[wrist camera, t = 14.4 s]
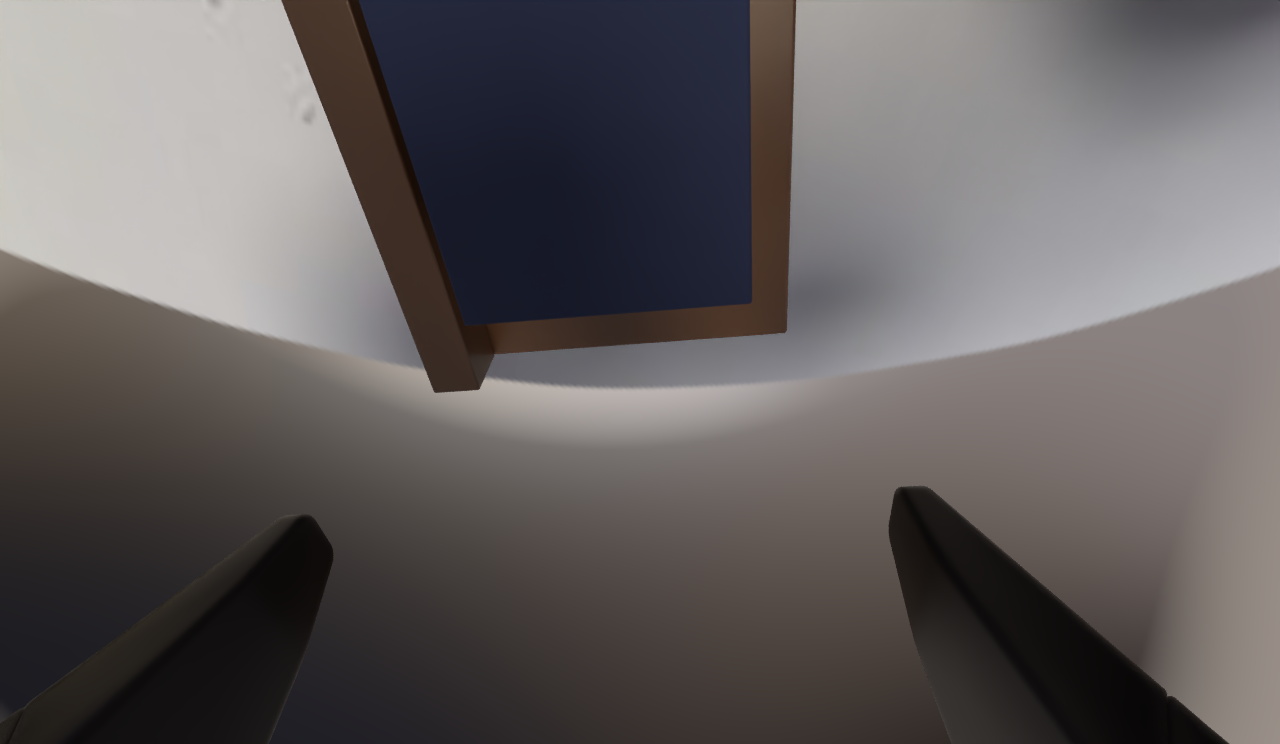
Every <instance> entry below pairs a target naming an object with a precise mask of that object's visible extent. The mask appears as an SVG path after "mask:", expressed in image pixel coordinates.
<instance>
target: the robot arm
mask: <svg viewBox="0 0 1280 744" xmlns="http://www.w3.org/2000/svg"><path fill="white" fill-rule="evenodd" d="M889 538H890V543H891V547H892V551H893V555H894V559H895V564H896V568H897V572H898V576H899V580H900V584H901V588H902V593H903V597H904V601H905V605H906V608H907V613H908V617H909V621H910V625H911V629H912V633H913V637H914V641H915V644H916V647H917V650H918V653H919V656H920V659H921V661H922V664H923V667H924V670H925V673H926V675H927V678H928V680H929V683H930V686H931V689H932V692H933V694H934V697H935V700H936V703H937V705H938V708H939V711H940V714H941V716H942V719H943V721H944V724H945V727H946V730H947V733H948V735H949V738H950V741H951V744H1229V743H1228V742H1226V741H1225V740H1224V739H1223V738H1222V737H1221V736H1219V735H1218V734H1217V733H1216V732H1215V731H1213V730H1212V729H1211V728H1210V727H1208V726H1207V725H1206V724H1205V723H1204V722H1203V721H1201V720H1200V719H1199V718H1198V717H1197V716H1196V715H1194V714H1193V713H1192V712H1191V711H1190V710H1188V709H1187V708H1186V707H1185V706H1184V705H1183V704H1182V703H1180V702H1179V701H1178V700H1177V699H1176V698H1174V697H1172V696H1168V697H1167V693H1166V690H1165V689H1164V688H1163V687H1161V686H1160V685H1159V684H1158V683H1157V682H1156V681H1154V680H1153V679H1152V678H1151V677H1150V676H1149V675H1147V674H1146V673H1145V672H1144V671H1143V670H1142V669H1140V668H1139V667H1138V666H1137V665H1136V664H1135V663H1133V662H1132V661H1131V660H1130V659H1129V658H1128V657H1126V656H1125V655H1124V654H1123V653H1122V652H1120V651H1119V650H1118V649H1117V648H1116V647H1115V646H1114V645H1112V644H1111V643H1110V642H1109V641H1108V640H1106V639H1105V638H1104V637H1103V636H1102V635H1101V634H1099V633H1098V632H1097V631H1096V630H1095V629H1094V628H1093V627H1091V626H1090V625H1089V624H1088V623H1087V622H1085V621H1084V620H1083V619H1082V618H1081V617H1080V616H1079V615H1077V614H1076V613H1075V612H1074V611H1073V610H1071V609H1070V608H1069V607H1068V606H1067V605H1066V604H1065V603H1063V602H1062V601H1061V600H1060V599H1059V598H1058V597H1056V596H1055V595H1054V594H1053V593H1052V592H1051V591H1049V590H1048V589H1047V588H1046V587H1045V586H1044V585H1042V584H1041V583H1040V582H1039V581H1038V580H1037V579H1035V578H1034V577H1033V576H1032V575H1031V574H1030V573H1028V572H1027V571H1026V570H1025V569H1024V568H1022V567H1021V566H1020V565H1019V564H1018V563H1017V562H1016V561H1014V560H1013V559H1012V558H1011V557H1010V556H1008V555H1007V554H1006V553H1005V552H1004V551H1003V550H1002V549H1000V548H999V547H998V546H997V545H995V543H993V542H992V541H991V540H990V539H989V538H987V537H986V536H985V535H984V534H983V533H982V532H981V531H979V530H978V529H977V528H976V527H975V526H973V525H972V524H971V523H970V522H969V521H968V520H966V519H965V518H964V517H963V516H962V515H961V514H959V513H958V512H957V511H956V510H955V509H954V508H952V507H951V506H950V505H949V504H948V503H947V502H945V501H944V500H943V499H942V498H941V497H940V496H938V495H937V494H936V493H935V492H934V491H933V490H931V489H930V488H928V487H926V486H907V487H899V488H898V489H896V491H895V494H894V499H893V504H892V510H891V516H890V521H889ZM332 562H333V549H332V546H331V544H330V542H329V541H328V539H327V538H326V536H325V534H324V533H323V531H322V530H321V528H320V527H319V525H318V523H317V522H316V520H315V519H314V518H313V517H312V516H310V515H306V514H304V515H303V514H302V515H287V516H283V517H281V518H279V519H278V520H276V521H275V522H274V523H272V524H271V525H270V526H268V527H267V528H265V529H264V530H263V531H261V532H260V533H259V534H257V535H256V536H255V537H253V538H252V539H251V540H249V541H248V542H246V543H245V544H244V545H243V546H241V547H240V548H238V549H237V550H236V551H235V552H233V553H231V554H230V555H229V556H227V557H226V558H225V559H223V560H222V561H221V562H219V563H218V564H216V565H215V566H214V567H212V568H211V569H210V570H208V571H207V572H206V573H204V574H203V575H201V576H200V577H199V578H198V579H196V580H195V581H193V582H192V583H191V584H189V585H188V586H187V587H185V588H184V589H182V590H181V591H180V592H178V593H177V594H176V595H174V596H173V597H172V598H170V599H169V600H168V601H166V602H165V603H163V604H162V605H161V606H160V607H158V608H157V609H155V610H154V611H153V612H151V613H150V614H148V615H147V616H146V617H145V618H143V619H142V620H140V621H139V622H138V623H136V624H135V625H134V626H132V627H131V628H129V629H128V630H127V631H125V632H124V633H123V634H121V635H120V636H119V637H117V638H116V639H115V640H113V641H112V642H110V643H109V644H108V645H106V646H105V647H104V648H102V649H101V650H99V651H98V652H97V653H95V654H94V655H93V656H91V657H90V658H89V659H87V660H86V661H85V662H83V663H82V664H80V665H79V666H78V667H76V668H75V669H74V670H72V671H71V672H70V673H68V674H67V675H66V676H64V677H63V678H62V679H60V680H59V681H57V682H56V683H55V684H53V685H52V686H51V687H49V688H48V689H46V690H45V691H44V692H42V693H41V694H40V695H38V696H37V697H36V698H34V699H33V700H32V701H30V702H29V703H28V704H27V705H26V707H25V708H21V709H19V710H18V711H16V712H15V713H14V714H13V715H11V716H10V717H8V718H7V719H6V720H4V721H3V722H1V723H0V744H269V741H270V739H271V736H272V734H273V731H274V729H275V727H276V724H277V721H278V719H279V717H280V714H281V712H282V709H283V707H284V704H285V702H286V699H287V697H288V695H289V692H290V690H291V687H292V685H293V682H294V680H295V678H296V675H297V673H298V670H299V667H300V665H301V662H302V660H303V657H304V655H305V651H306V648H307V645H308V642H309V639H310V636H311V633H312V630H313V626H314V623H315V619H316V616H317V613H318V610H319V606H320V603H321V599H322V596H323V593H324V589H325V586H326V582H327V579H328V576H329V573H330V569H331V566H332Z"/></svg>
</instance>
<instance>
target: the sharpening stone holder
mask: <svg viewBox="0 0 1280 744" xmlns="http://www.w3.org/2000/svg"><path fill="white" fill-rule="evenodd" d="M282 3H283V6H284V8H285V11H286V13H287V16H288V18H289V21H290V24H291V26H292V29H293V31H294V34H295V36H296V39H297V42H298V44H299V47H300V49H301V52H302V54H303V57H304V59H305V62H306V65H307V67H308V70H309V72H310V75H311V77H312V80H313V83H314V85H315V88H316V90H317V93H318V95H319V98H320V101H321V103H322V106H323V108H324V111H325V113H326V116H327V118H328V121H329V124H330V126H331V129H332V131H333V134H334V136H335V139H336V142H337V144H338V147H339V149H340V152H341V154H342V157H343V160H344V162H345V165H346V167H347V170H348V172H349V175H350V177H351V180H352V183H353V185H354V188H355V190H356V193H357V195H358V198H359V201H360V203H361V206H362V208H363V211H364V213H365V216H366V218H367V221H368V224H369V226H370V229H371V231H372V234H373V236H374V239H375V242H376V244H377V247H378V249H379V252H380V254H381V257H382V260H383V262H384V265H385V267H386V270H387V272H388V275H389V277H390V280H391V283H392V285H393V288H394V290H395V293H396V295H397V298H398V301H399V303H400V306H401V308H402V311H403V313H404V316H405V319H406V321H407V324H408V326H409V329H410V331H411V334H412V336H413V339H414V342H415V344H416V347H417V349H418V352H419V354H420V357H421V360H422V362H423V365H424V367H425V370H426V372H427V375H428V378H429V380H430V382H431V385H432V388H433V390H434V392H435V393H439V392H454V391H469V390H479V389H480V387H481V384H482V382H483V380H484V378H485V376H486V373H487V371H488V369H489V367H490V364H491V362H492V360H493V358H494V354H505V353H519V352H532V351H546V350H559V349H573V348H587V347H600V346H614V345H627V344H641V343H655V342H668V341H682V340H695V339H709V338H723V337H736V336H750V335H763V334H777V333H785V332H786V331H787V309H788V273H789V237H790V202H791V166H792V130H793V94H794V59H795V23H796V0H750V85H751V202H752V302H751V303H750V304H741V305H728V306H715V307H702V308H689V309H677V310H664V311H651V312H638V313H625V314H612V315H600V316H587V317H574V318H561V319H548V320H535V321H523V322H510V323H497V324H484V325H471V326H466V325H465V324H464V322H463V319H462V316H461V313H460V309H459V306H458V303H457V300H456V297H455V294H454V291H453V288H452V285H451V282H450V279H449V276H448V273H447V270H446V267H445V263H444V260H443V257H442V254H441V251H440V248H439V245H438V242H437V239H436V236H435V233H434V230H433V227H432V224H431V221H430V217H429V214H428V211H427V208H426V205H425V202H424V199H423V196H422V193H421V190H420V187H419V184H418V181H417V178H416V175H415V171H414V168H413V165H412V162H411V159H410V156H409V153H408V150H407V147H406V144H405V141H404V138H403V135H402V132H401V129H400V125H399V122H398V119H397V116H396V113H395V110H394V107H393V104H392V101H391V98H390V95H389V92H388V89H387V86H386V83H385V79H384V76H383V73H382V70H381V67H380V64H379V61H378V58H377V55H376V52H375V49H374V46H373V43H372V40H371V37H370V33H369V30H368V27H367V24H366V21H365V18H364V15H363V12H362V9H361V6H360V3H359V0H282Z"/></svg>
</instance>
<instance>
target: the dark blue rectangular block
mask: <svg viewBox="0 0 1280 744" xmlns="http://www.w3.org/2000/svg"><path fill="white" fill-rule="evenodd" d="M359 3H360V6H361V9H362V12H363V15H364V18H365V21H366V24H367V27H368V30H369V33H370V37H371V40H372V43H373V46H374V49H375V52H376V55H377V58H378V61H379V64H380V67H381V70H382V73H383V76H384V79H385V83H386V86H387V89H388V92H389V95H390V98H391V101H392V104H393V107H394V110H395V113H396V116H397V119H398V122H399V125H400V129H401V132H402V135H403V138H404V141H405V144H406V147H407V150H408V153H409V156H410V159H411V162H412V165H413V168H414V171H415V175H416V178H417V181H418V184H419V187H420V190H421V193H422V196H423V199H424V202H425V205H426V208H427V211H428V214H429V217H430V221H431V224H432V227H433V230H434V233H435V236H436V239H437V242H438V245H439V248H440V251H441V254H442V257H443V260H444V263H445V267H446V270H447V273H448V276H449V279H450V282H451V285H452V288H453V291H454V294H455V297H456V300H457V303H458V306H459V309H460V313H461V316H462V319H463V322H464V324H465V325H466V326H471V325H484V324H497V323H510V322H523V321H535V320H548V319H561V318H574V317H587V316H600V315H612V314H625V313H638V312H651V311H664V310H677V309H689V308H702V307H715V306H728V305H741V304H750V303H751V302H752V202H751V85H750V0H359Z"/></svg>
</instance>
